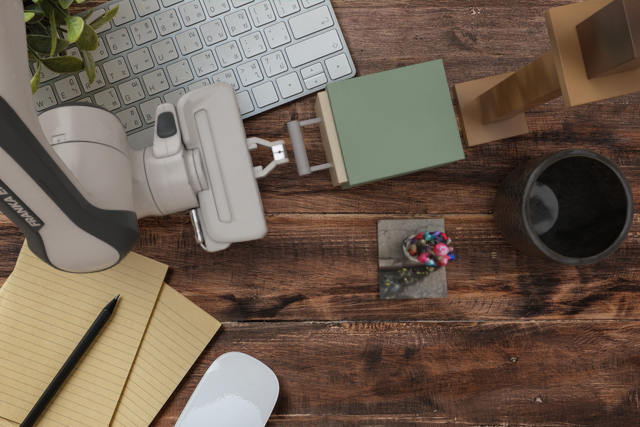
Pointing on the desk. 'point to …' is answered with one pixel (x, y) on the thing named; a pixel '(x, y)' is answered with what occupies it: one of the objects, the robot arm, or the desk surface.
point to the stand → (538, 82)
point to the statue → (413, 258)
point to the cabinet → (395, 122)
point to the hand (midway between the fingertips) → (286, 151)
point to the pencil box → (611, 39)
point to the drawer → (328, 139)
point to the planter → (565, 207)
